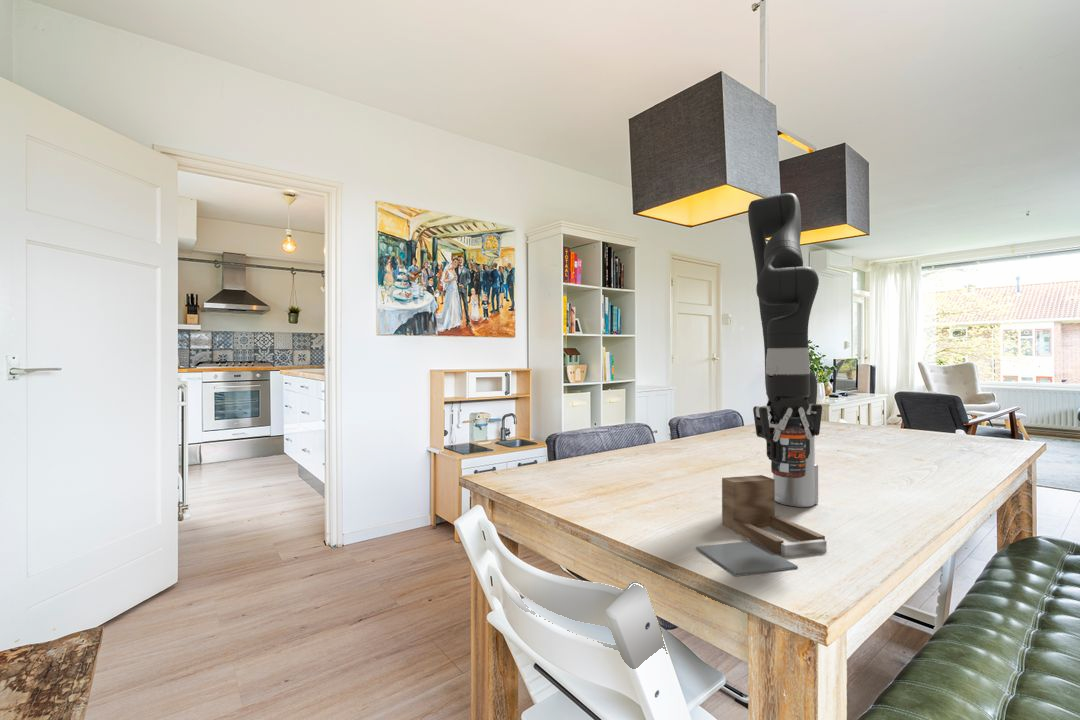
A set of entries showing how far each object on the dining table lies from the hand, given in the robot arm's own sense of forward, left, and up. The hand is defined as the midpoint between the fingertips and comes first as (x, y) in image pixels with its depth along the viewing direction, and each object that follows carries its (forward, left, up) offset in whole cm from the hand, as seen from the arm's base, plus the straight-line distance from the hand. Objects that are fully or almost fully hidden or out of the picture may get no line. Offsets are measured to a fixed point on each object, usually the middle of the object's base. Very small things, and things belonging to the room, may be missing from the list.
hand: (788, 458), depth 94 cm
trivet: (+12, +4, -16) cm, 21 cm away
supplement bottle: (0, 0, -3) cm, 3 cm away
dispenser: (0, -4, -16) cm, 17 cm away
